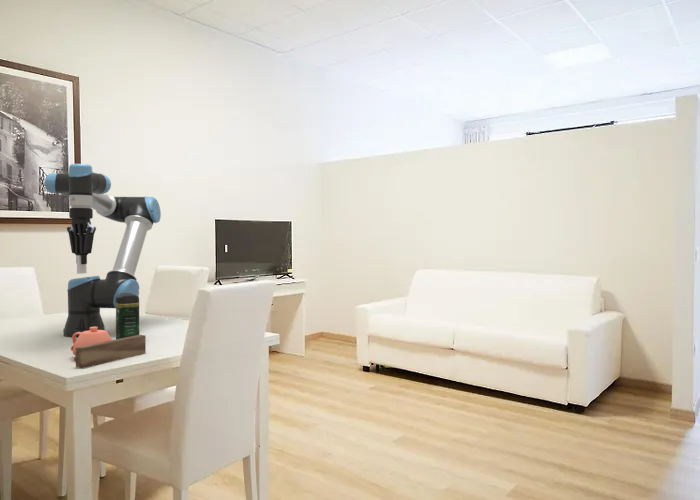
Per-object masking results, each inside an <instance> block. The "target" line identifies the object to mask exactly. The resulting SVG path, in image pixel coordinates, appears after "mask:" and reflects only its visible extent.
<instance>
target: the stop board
mask: <svg viewBox="0 0 700 500" xmlns="http://www.w3.org/2000/svg"><path fill="white" fill-rule="evenodd" d="M146 336H147V335H145V334H139V335H135V336H130V337H125V338H120V339H116V338H115V339H112V340H110V341H105V342H100V343H95V344H90V345H85V346H81V347H76V356H75V368H78V367H79V369H85V368H89V366H90V367H93V365H94V366H99V365H101V364H106V363H109V362H110V363H111V362H113V361H114V362H115V361H117V360H118V361H119V360H123V359H126V358H130V357H134V356H139V355H143V354H146V350H147V349H146V347H147V346H146V345H147V344H146V342H147V341H146V340H147V339H146ZM84 367H85V368H84Z"/></svg>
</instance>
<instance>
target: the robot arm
mask: <svg viewBox="0 0 700 500" xmlns="http://www.w3.org/2000/svg"><path fill="white" fill-rule="evenodd" d="M68 169H69V170H68V172H67V173H66V172H63V173H61V172H60V173H59V172H56V173H55V172H54V173H48V174H47V175H46V176H45V179H44V186H45V187H44V188H45V190H46V191H47V192H48V193H49V194H54V195H55V194H56V195H57V194H61V195H63V196H65V197H68V199H69V201H68V202H69V203H68V204H69V207H70V208H69V209H68V211H69V213H68V214H69V215H68V216H69V218H70V219H71V220H72V221H71V225H70V226H67V227H66V230H67V233H68V237H69V238H68V239H69V245H70V249H71V253H72V254H74V255H75V257H76V259H75V261H76V262H75V263H76V274H79V275H80V274H81V275H82V274H87V264H88V256H89V254H92V250H93V243H94V237H95V233H96V230H97V227H96V226H93V225H92V222H91V219H93V218H94V211H93V210H95V212H96V213H97V215H99V216H101V217H104V218H106V219H109V220H111V221H114V222H118V223H124V224H125V225H126V227H125V230H124V233H123V237H122V240H121V242H120V246H119V249H118V252H117V255H116V258H115V261H114V264H113V268H112V270H110V271H108V272H107V274H106V277H105V279H104V278H103V279H101V277H100V276H99V275H93V276H85V277H84V276H83V277H78V278H71V279H70V280H69V281H68V283H67V291H66V292H67V313H68V314H67V318H66V321H65V325H64V328H63V331H62V332H63V336H65V337H70V338H72V336H73V334H75V333H76V332H84V331H89V330H90V327H98V329H97V330H105V331H106V328H105V327H106V326H105V324H104V321H103V318H102V316H101V309H116V296H117V295H119V294H120V293H132V294H134V295H136V296H139V295H140V284H139V282H138V281H137V277H136V276H135V273H136V270H137V266H138V263H139V260H140V256H141V253H142V250H143V246H144V243H145V239H146V237H147V232H148V231H150V230H152V228H153V226H154V224H157V223H159V222H160V221H161V218H162V217H161V216H162V215H161V207H160V204H159V201H158V199H157V198H155V197H153V196H112V195H111V194H107V193H108V192H109V191H110V190H111V187H112V182H111V179H110V178H109V177H108V176H107V175H104V174H102V173H97V172H94V171H93V167H92V165H90V164H87V163H71V164H70V165H69V166H68ZM139 297H140V296H139ZM78 337H79V334H77V335H76V338H78Z"/></svg>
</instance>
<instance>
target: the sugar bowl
mask: <svg viewBox="0 0 700 500" xmlns="http://www.w3.org/2000/svg"><path fill="white" fill-rule="evenodd" d="M97 329H98V327H90V330H89V331H84V332H76V333H75V334H73V336H72V337H71V340H72V343H73V345H71V346H70V351H71V352H72V354H73V355H74V356H75V357H76V347H81V346H85V345H90V344H95V343H100V342H105V341H110V340H113V339H112V337H111V336H110V334H109V332H108V331H107V330H106V329H105V330H97ZM77 334H79V337H76V335H77Z"/></svg>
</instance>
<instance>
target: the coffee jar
mask: <svg viewBox="0 0 700 500" xmlns="http://www.w3.org/2000/svg"><path fill="white" fill-rule="evenodd" d="M135 335H140V296H136V295H134V294H132V293H120V294H119V295H117V296H116V308H115V339H120V338H125V337H130V336H135Z"/></svg>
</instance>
